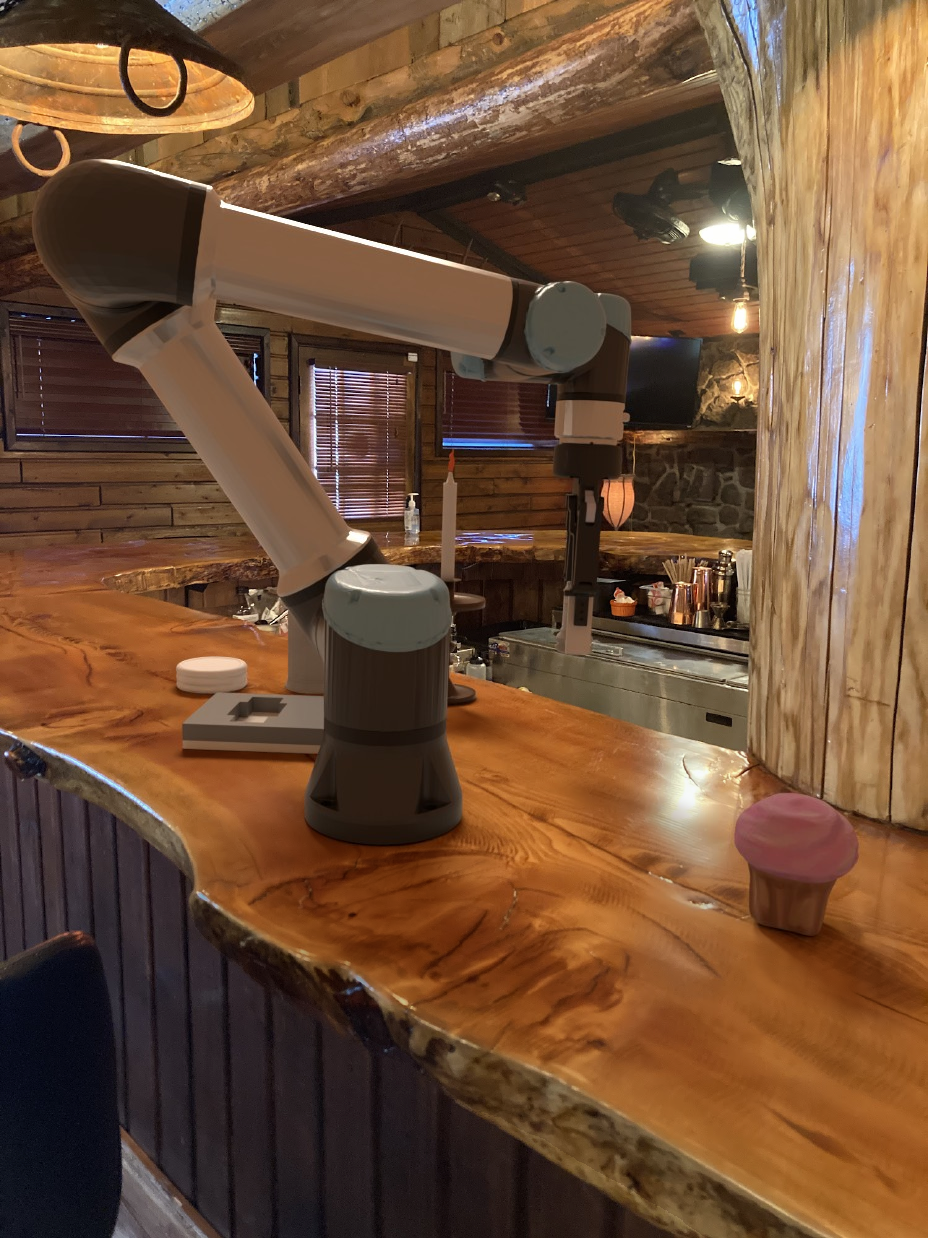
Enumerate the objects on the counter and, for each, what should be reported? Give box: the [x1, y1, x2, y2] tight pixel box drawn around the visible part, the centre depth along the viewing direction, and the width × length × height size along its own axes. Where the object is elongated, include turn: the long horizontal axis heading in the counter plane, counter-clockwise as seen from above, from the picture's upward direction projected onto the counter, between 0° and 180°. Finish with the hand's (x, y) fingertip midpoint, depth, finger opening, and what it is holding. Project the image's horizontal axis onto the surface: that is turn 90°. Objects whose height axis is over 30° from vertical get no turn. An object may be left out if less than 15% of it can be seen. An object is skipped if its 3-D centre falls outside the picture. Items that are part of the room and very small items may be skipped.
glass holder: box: [284, 609, 324, 695], centre depth 137 cm, size 9×14×15 cm, turn 152°
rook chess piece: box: [554, 581, 594, 656], centre depth 105 cm, size 4×4×8 cm
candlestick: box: [439, 449, 486, 707], centre depth 129 cm, size 11×11×35 cm
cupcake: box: [733, 792, 860, 937], centre depth 70 cm, size 9×9×10 cm
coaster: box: [175, 656, 248, 695], centre depth 135 cm, size 10×10×4 cm
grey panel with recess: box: [181, 692, 324, 755], centre depth 112 cm, size 14×26×8 cm, turn 89°
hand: (574, 648), depth 106 cm, fingers closed on rook chess piece, 4 cm apart
